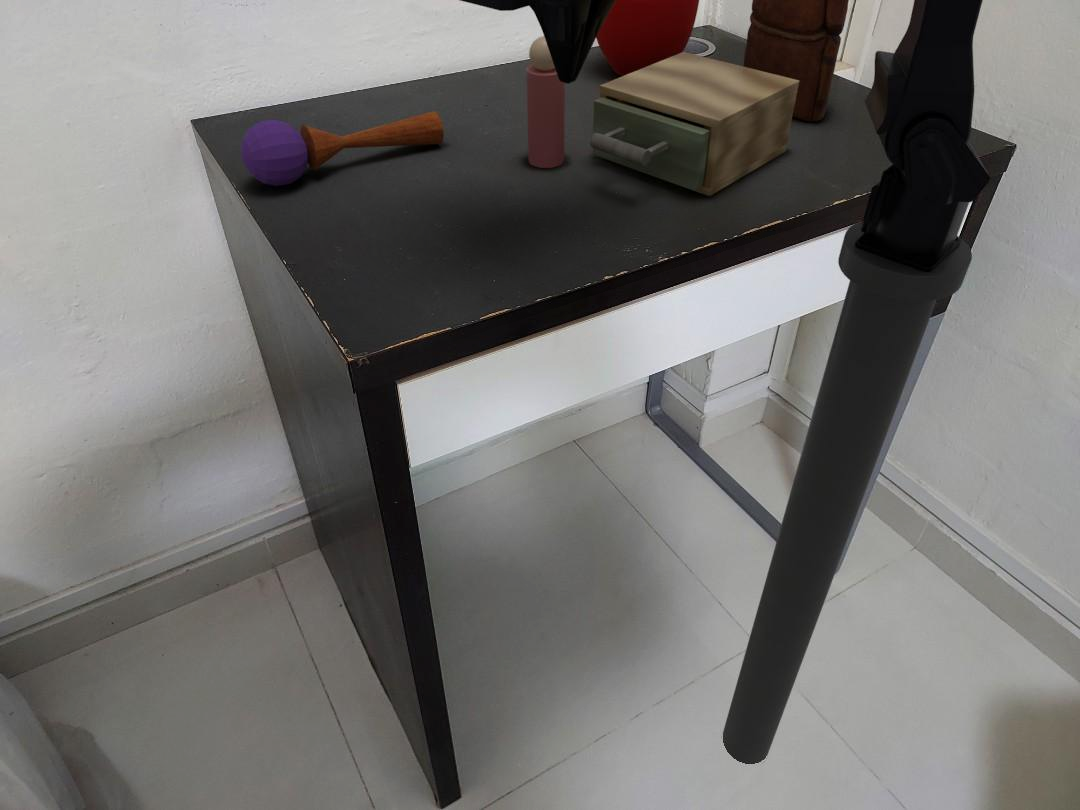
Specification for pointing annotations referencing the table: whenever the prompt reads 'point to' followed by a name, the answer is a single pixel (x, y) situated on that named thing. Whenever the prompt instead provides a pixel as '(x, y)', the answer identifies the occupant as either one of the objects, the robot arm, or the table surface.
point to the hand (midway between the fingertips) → (567, 81)
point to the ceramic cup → (645, 32)
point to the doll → (544, 108)
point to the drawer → (651, 142)
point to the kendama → (324, 145)
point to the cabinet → (717, 109)
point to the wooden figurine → (798, 47)
